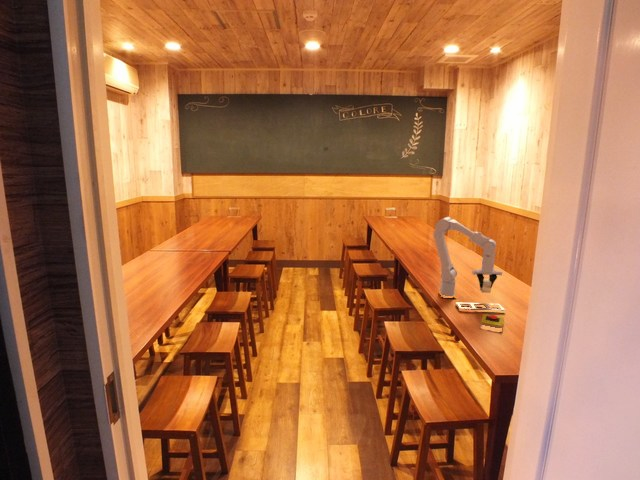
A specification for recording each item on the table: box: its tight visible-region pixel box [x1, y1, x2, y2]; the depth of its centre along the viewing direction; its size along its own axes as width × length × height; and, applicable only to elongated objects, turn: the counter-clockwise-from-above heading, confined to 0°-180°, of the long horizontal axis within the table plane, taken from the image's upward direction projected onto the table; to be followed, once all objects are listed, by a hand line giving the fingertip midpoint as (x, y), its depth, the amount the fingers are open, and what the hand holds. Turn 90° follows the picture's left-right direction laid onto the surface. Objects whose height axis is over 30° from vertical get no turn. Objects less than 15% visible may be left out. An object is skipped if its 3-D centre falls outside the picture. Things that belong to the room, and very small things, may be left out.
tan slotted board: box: [455, 301, 506, 312], centre depth 201 cm, size 8×22×2 cm, turn 86°
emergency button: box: [480, 313, 505, 328], centre depth 183 cm, size 9×4×15 cm
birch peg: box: [479, 278, 492, 294], centre depth 207 cm, size 4×4×6 cm
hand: (485, 287), depth 208 cm, fingers closed on birch peg, 4 cm apart
